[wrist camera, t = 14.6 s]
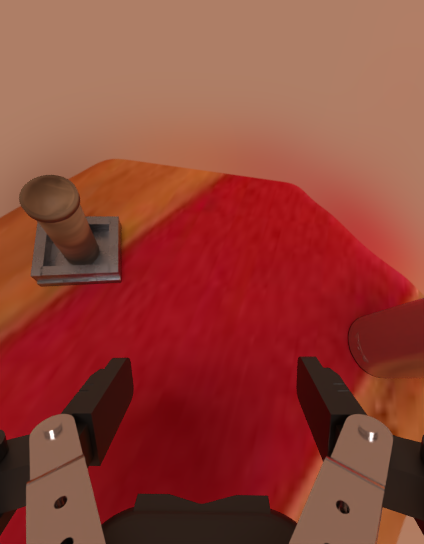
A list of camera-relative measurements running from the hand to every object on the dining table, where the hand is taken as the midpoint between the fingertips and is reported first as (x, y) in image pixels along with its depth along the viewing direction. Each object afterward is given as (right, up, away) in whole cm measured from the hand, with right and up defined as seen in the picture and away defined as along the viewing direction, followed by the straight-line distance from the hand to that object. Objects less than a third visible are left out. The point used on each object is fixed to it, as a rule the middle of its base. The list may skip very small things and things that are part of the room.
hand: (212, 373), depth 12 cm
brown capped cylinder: (-18, +8, +23) cm, 30 cm away
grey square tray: (-18, +7, +24) cm, 31 cm away
